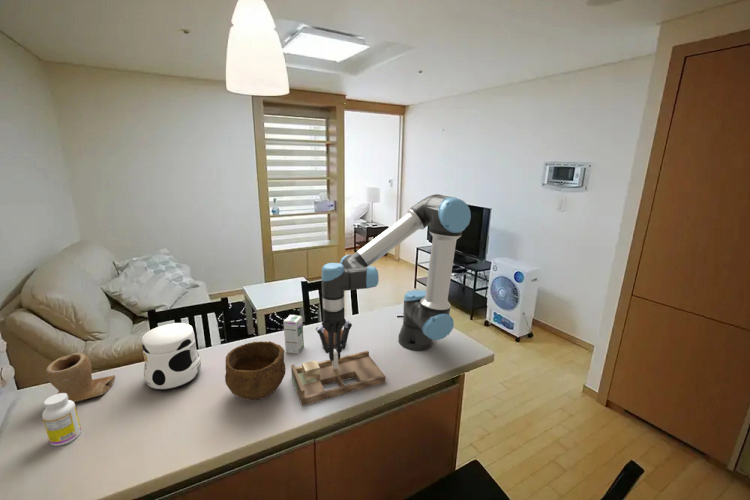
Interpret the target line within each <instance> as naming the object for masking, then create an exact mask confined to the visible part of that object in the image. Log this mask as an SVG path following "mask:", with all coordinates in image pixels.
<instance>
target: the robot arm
mask: <svg viewBox="0 0 750 500" xmlns="http://www.w3.org/2000/svg"><path fill="white" fill-rule="evenodd" d="M471 218H472V216H471V210H470V207H469V206H468V204H467V203H466V202H465V201H464V200H462V199H461V198H459V197H458V198H457V197H455V196H454V197H453V196H448V195H443V194H436V193H435V194H432V195H429V196H427V197H425V198H423V199H421V200H420V201H419V202H417V203H416V204H414V205H412V206H411V207H409V209H408V210H407V213H406V214H405V215H403V216H402V217H401V218H399V220H397V221H396V222H395V223H393V224H392V225H390V226H389V227H388V228H386V229H385V230H384V231H382V232H381V233H380V234H378V235H377V236H376V237H375V238H373V239H371V240H370V241H369V242H367V243H366V244H365V245H364V246H362V247H361V248H360V249H357V251H356V252H354V253H353V254H346V255H344V256H343V257H342V258H341V259H340V261H339V262H328V263H326V264H324V265H322V268H321V277H320V279H321V292H322V293H321V294H322V296H321V297H322V322H321V325H320V326H319V327H318V326H317V327H315V331H316V332H317V334H318V335H319V337H320V342H321V345H322V349H323V350H324V352H325V354H328V358H329V360H331V361H332V366H333V368H334V369H338V359H340V357H341V353H342V350H345V349H346V347H347V343H348V342H347V341H348V338H349V333H350V329H351V328H352V326H353V324H352V323H351V321H349V320H346V318H345V313H346V312H345V292H346V291H354V290H355V291H356V290H365V289H370V288H371V289H372V288H376V287H377V286H378V284H379V281H380V280H379V278H380V277H379V271H378V269H377V268H376V267H375V266H374V265H373V264H374V263H375V262H377V261H378V260H380V259H381V258H382V257H384V256H385V255H386V254H387V253H388V252H390V251H392V250H393V249H394V248H395V247H396V246H398V245H400V244H401V243H402V242H403V241H405V240H406V239H407V238H409V237H410V236H411V235H413V234H414V233H416V232H417V231H418V230H425V228H427V227H428V226H429V234H430V235H431V237H432V240H431V241H432V242H431V250H430V257H429V264H428V272H427V279H426V286H425V287H426V288H425V290H423V289H422V290H421V289H420V290H419V289H415V290H410V291H407V292H406V293H405V294H404V297H403V314H402V317H403V318H402V326H401V328H400V330H399V333H398V340H397V341H398V343H399V344H400V345H401V346H402V347H403V348H405V349H407V350H412V351H425V350H428V349H430V348H431V347H432V346H433V344H434V341H439V340H442V339H445V338H447V336H449V335H450V333H452V331H453V330H454V325H455V323H454V319H453V317H452V316H451V315H450V313H451V307H452V306H451V303H450V302H449V292H450V285H451V279H452V271H453V264H454V260H455V259H454V258H455V252H456V245H457V240H458V239H460V238H461V237H462V233H463V231H465V229H466V228H468V226H469V225H470V221H471ZM371 265H373V266H371ZM324 328H325V330H326V331H327V332H328V345H327V343H326V340H325V337H324V334H323V332H324ZM341 329H342V330H343V333H342V338H341V339H340V335H341ZM334 333H335V346H334Z"/></svg>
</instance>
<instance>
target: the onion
mask: <svg viewBox="0 0 750 500" xmlns="http://www.w3.org/2000/svg"><path fill="white" fill-rule="evenodd" d="M323 330H324V332H323V334H324V337H325V340H326V343H327V346H328V332H327V331H326V330H325V328H324V329H323ZM342 333H343V328H342V329H341V335H340V339H341V338H342ZM334 347H335V333H334Z"/></svg>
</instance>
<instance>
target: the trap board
mask: <svg viewBox="0 0 750 500" xmlns="http://www.w3.org/2000/svg"><path fill="white" fill-rule="evenodd" d="M317 363H318V365H319V367H320V378H317V379H313V380H309V381H306V380H305V378H304V375H303V372H302V365H301V366H297V367H296V365H295V364H291V365H290V366H291V380H292V382H293V385H294V388H295V391H296V393H297V395H298V396H297V397H298V399H299V402H300V404H301V407H303V406H307V405H311V404H313V403H317V402H321V401H324V400H327V399H332V398H334V397H338V396H343V395H346V394H349V393H352V392H356V391H359V390H363V389H366V388H370V387H373V386H377V385H381V384H384V383H386V379H387V376H386V374H385V373H384V372H383V371H382V370H381V368H380V367H379V366H378V365H377V363H376V362H375V361H374V360H373V358H372V357H371V356H370V351H369V350H365V351H361V352H357V353H351V354H348V355H345V356H344V355H343V356H340V359H338V369H334V368H333V366H332V361H331V360H330V359H327V360H322V361H317ZM353 378H355V380H356V381H355V382H352V383H348V384H345V383H344V381H346V380H350V379H353ZM335 383H336V384H337V387H334V388H330V389H327V390H325V388H324V386H327V385H331V384H335Z"/></svg>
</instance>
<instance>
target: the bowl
mask: <svg viewBox="0 0 750 500" xmlns="http://www.w3.org/2000/svg"><path fill="white" fill-rule="evenodd" d="M285 353H286V350H285V349H284V348H283V347H282V346H281V345H280V344H277V343H275V342H272V341H253V342H248V343H244V344H241V345H238V346H236V347H235V348H233V349H231V350H230V351H229V352H228V353H227V355H226V356H225V374H224V378H225V380H224V381H225V385H226V386H227V388H228V389H229V391H230V392H231V393H232V394H233V395H234V396H236V397H237V398H240V399H243V400H247V401H259V400H260V401H261V400H263V399H266V398H268V397H269V396H271V395H272V394H274V392H275V391H277V389H278V388H279V387H280V386H281V384H282V382H283V379H284V378H285V375H286V363H285Z"/></svg>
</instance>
